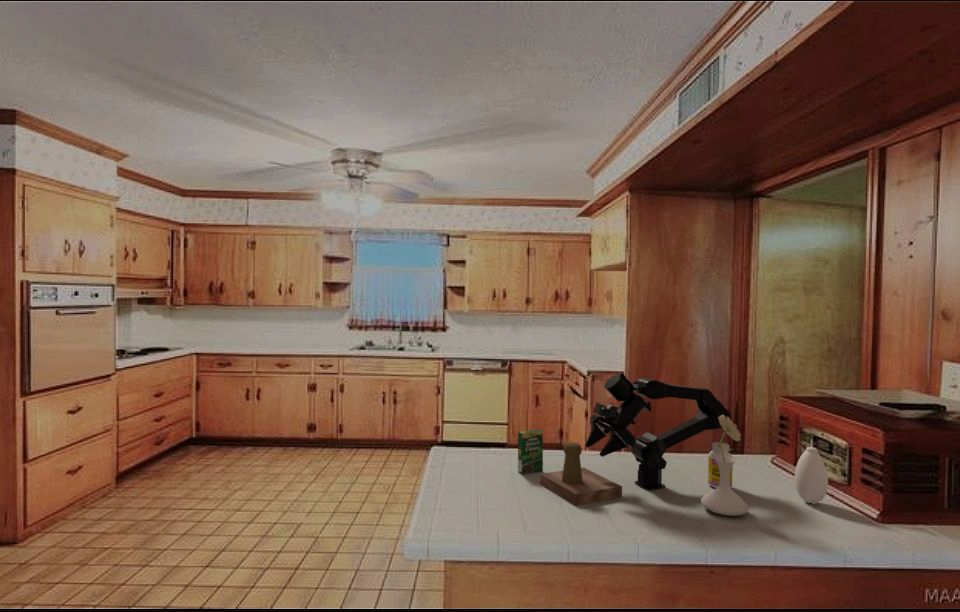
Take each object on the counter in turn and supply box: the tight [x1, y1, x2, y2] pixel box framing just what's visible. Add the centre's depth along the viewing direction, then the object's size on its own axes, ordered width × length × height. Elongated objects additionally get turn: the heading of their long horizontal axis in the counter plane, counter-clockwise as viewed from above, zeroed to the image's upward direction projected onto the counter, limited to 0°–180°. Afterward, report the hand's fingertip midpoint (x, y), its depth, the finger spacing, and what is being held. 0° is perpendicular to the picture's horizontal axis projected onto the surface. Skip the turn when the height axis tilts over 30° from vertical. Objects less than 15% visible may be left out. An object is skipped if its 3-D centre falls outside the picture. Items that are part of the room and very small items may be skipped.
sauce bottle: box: [794, 438, 829, 505], centre depth 143 cm, size 8×8×18 cm
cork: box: [562, 441, 583, 485], centre depth 149 cm, size 6×6×11 cm
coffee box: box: [517, 429, 544, 474], centre depth 167 cm, size 8×3×13 cm, turn 113°
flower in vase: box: [700, 415, 749, 517], centre depth 137 cm, size 13×11×25 cm
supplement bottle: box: [707, 441, 734, 489], centre depth 155 cm, size 7×7×13 cm
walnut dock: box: [539, 467, 623, 506], centre depth 151 cm, size 16×18×3 cm
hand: (593, 451), depth 151 cm, fingers open, 9 cm apart
